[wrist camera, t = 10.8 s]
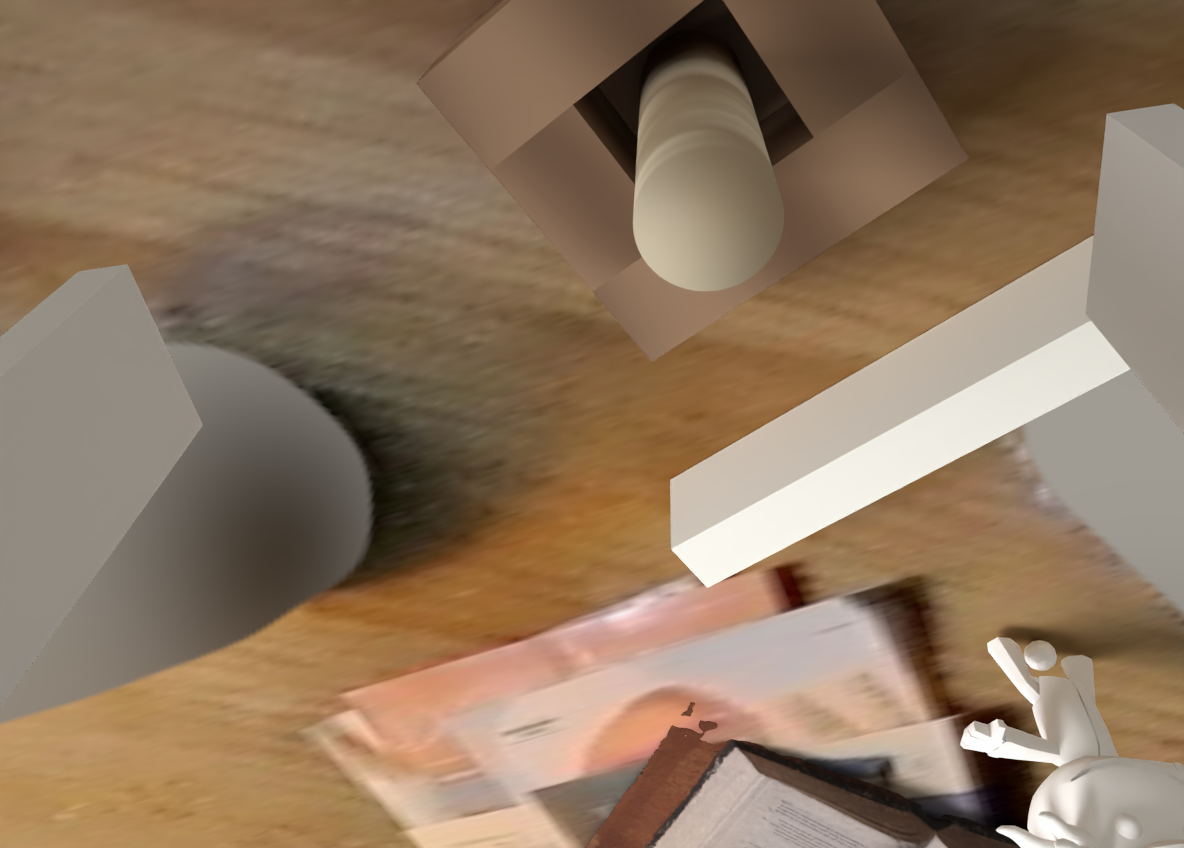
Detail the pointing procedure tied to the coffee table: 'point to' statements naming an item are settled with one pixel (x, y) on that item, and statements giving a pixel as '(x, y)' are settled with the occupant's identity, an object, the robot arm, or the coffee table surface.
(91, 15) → the coffee table surface
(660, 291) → the block
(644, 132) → the dowel
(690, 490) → the wall
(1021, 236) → the coffee table surface
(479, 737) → the coffee table surface
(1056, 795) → the figurine
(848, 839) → the book
